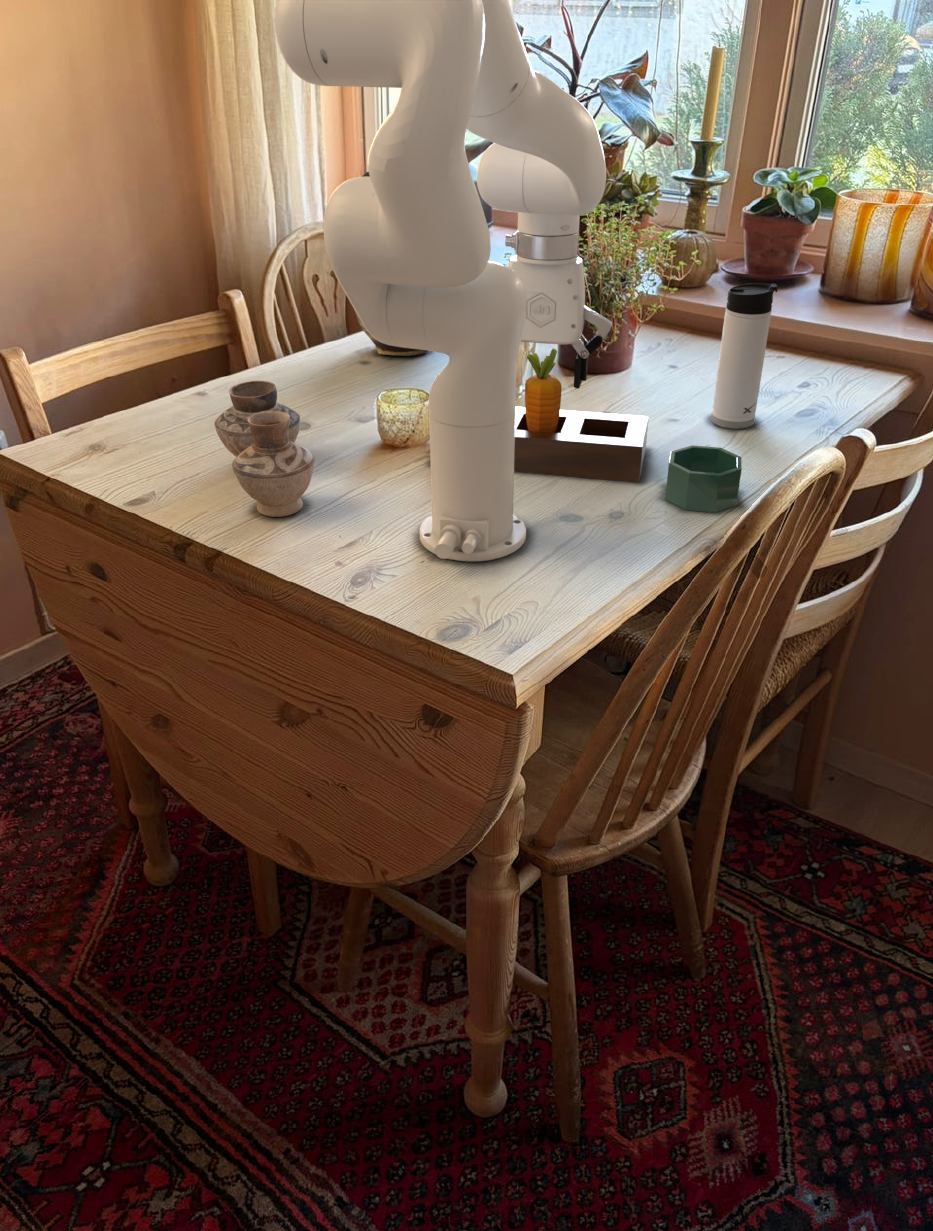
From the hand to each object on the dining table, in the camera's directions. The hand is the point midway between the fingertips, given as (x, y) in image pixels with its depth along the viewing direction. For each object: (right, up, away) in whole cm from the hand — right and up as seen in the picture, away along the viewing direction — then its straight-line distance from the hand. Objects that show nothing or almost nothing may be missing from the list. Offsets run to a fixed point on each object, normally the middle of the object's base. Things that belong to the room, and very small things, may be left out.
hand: (541, 382), depth 130 cm
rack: (0, -9, +6) cm, 11 cm away
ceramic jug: (-22, +17, +47) cm, 55 cm away
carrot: (0, -9, +7) cm, 11 cm away
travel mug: (+30, -2, +17) cm, 35 cm away
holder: (+20, -16, -4) cm, 26 cm away
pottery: (-36, -14, 0) cm, 38 cm away
